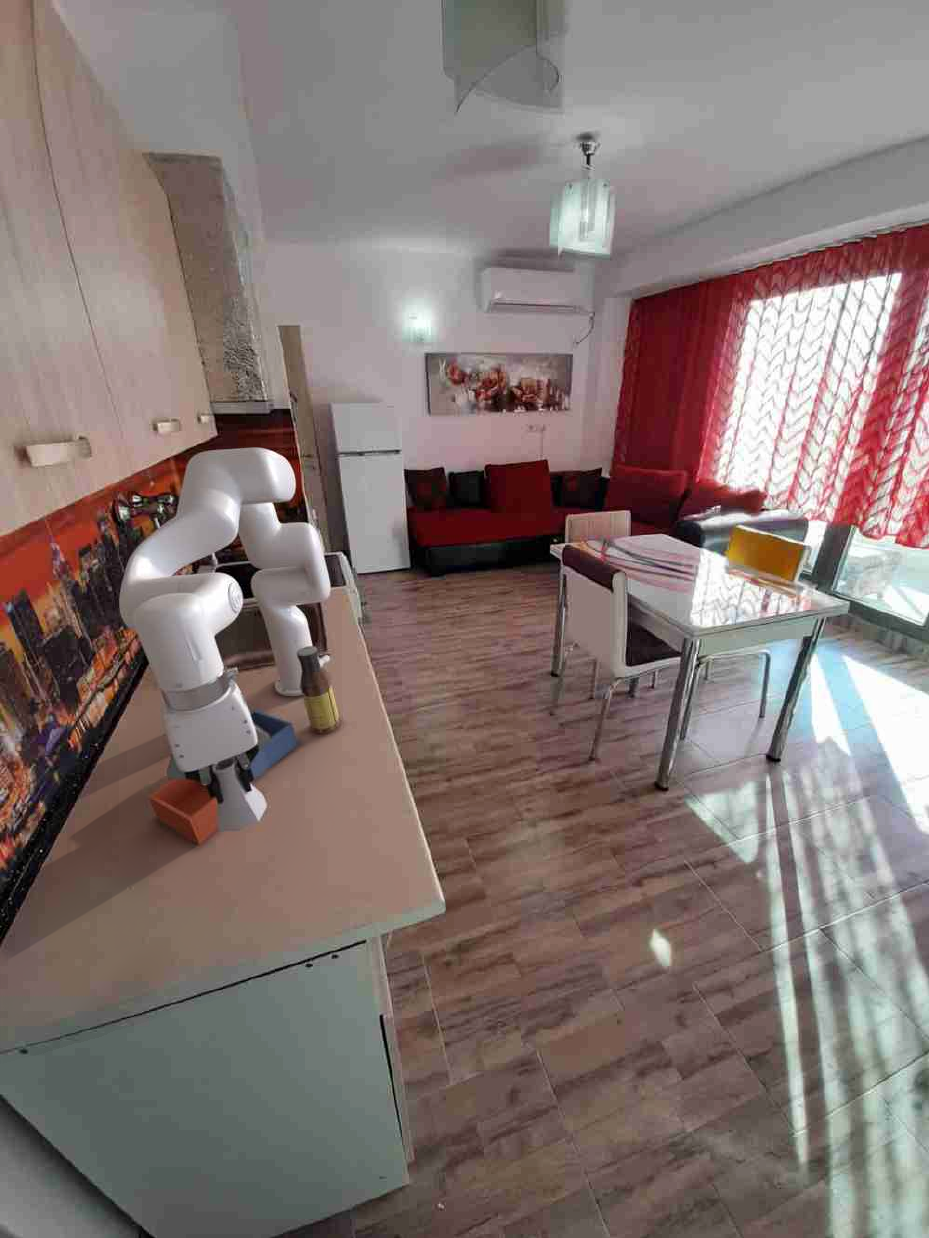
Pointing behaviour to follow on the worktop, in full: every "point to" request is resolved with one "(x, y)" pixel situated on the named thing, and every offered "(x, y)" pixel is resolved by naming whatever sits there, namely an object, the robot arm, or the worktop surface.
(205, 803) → the terracotta bin
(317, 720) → the sauce bottle
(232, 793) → the flask
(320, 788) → the worktop surface
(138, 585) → the robot arm
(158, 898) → the worktop surface
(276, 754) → the blue bin
